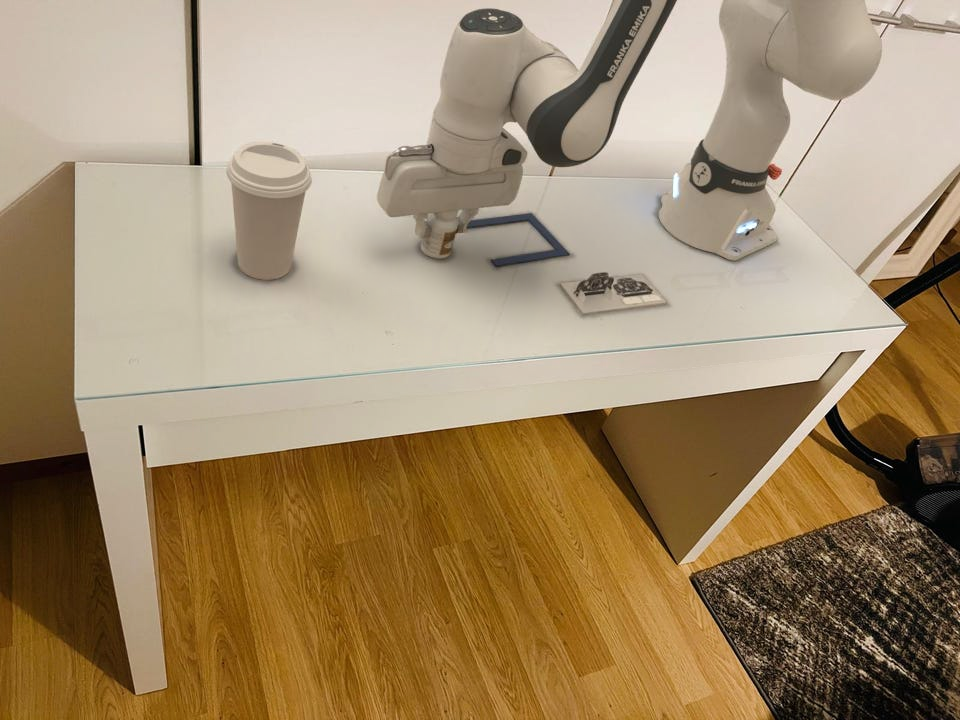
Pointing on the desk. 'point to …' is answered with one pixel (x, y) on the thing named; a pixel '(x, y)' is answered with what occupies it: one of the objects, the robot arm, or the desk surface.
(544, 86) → the robot arm
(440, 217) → the pill bottle
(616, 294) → the car cutout
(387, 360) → the desk surface
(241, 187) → the coffee cup
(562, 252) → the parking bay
